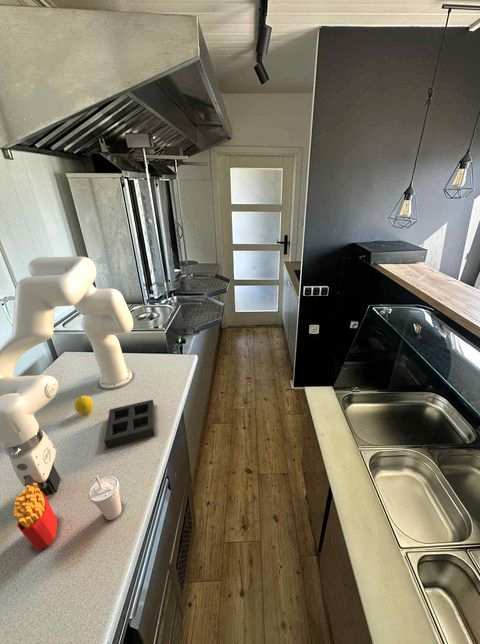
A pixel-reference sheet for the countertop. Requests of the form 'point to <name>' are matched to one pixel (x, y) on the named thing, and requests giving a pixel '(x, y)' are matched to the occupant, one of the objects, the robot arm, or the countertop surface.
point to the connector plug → (53, 479)
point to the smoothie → (106, 496)
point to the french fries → (35, 517)
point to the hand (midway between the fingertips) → (49, 486)
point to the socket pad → (130, 424)
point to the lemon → (84, 405)
